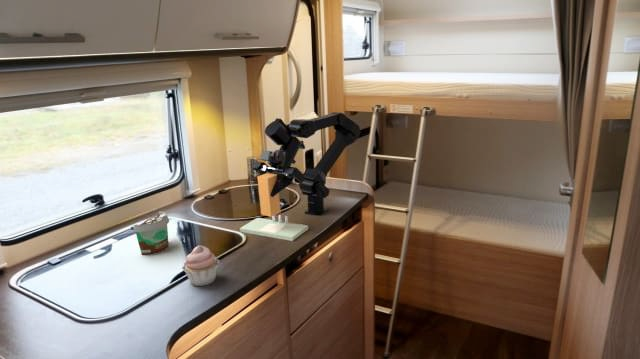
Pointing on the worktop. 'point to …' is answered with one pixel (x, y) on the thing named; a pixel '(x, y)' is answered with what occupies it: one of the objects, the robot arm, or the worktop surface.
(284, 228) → the board
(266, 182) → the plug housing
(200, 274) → the cupcake
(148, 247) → the food container
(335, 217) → the worktop surface
